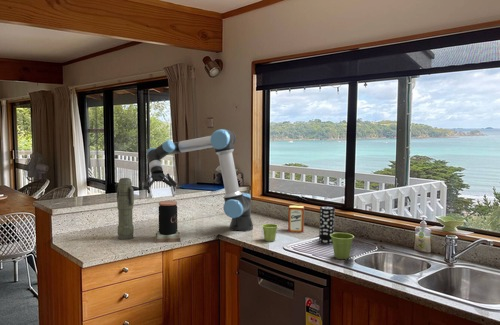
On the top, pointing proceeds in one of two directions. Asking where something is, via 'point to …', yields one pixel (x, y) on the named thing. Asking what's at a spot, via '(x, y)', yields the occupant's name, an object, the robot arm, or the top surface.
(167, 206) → the coffee jar
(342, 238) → the plant pot
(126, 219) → the thermos
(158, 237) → the plinth
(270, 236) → the plant pot
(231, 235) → the top surface
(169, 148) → the robot arm
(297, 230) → the baking soda box
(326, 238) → the spotted tube
